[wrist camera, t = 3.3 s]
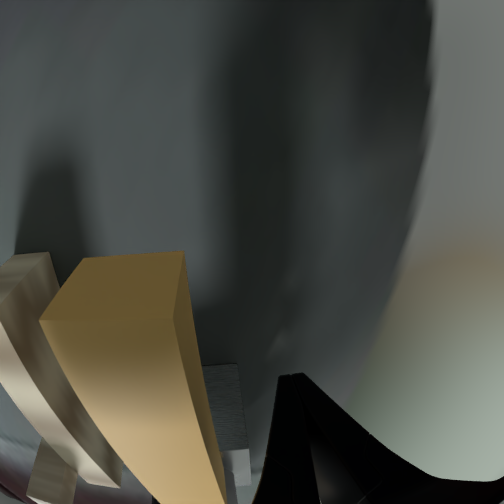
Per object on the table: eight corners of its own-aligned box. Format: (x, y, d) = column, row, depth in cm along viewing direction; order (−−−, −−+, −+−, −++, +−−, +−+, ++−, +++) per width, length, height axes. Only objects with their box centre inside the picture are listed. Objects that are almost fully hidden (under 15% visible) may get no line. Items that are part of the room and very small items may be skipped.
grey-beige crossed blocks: (127, 432, 22) (116, 528, 13) (72, 426, 21) (52, 512, 12) (49, 251, 14) (-50, 371, 5) (-16, 257, 14) (-104, 350, 5)
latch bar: (236, 485, 15) (241, 523, 12) (174, 487, 14) (175, 525, 12) (202, 249, 8) (199, 316, 5) (69, 259, 8) (22, 319, 5)
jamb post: (240, 413, 22) (251, 484, 16) (167, 416, 21) (163, 487, 15) (236, 363, 19) (249, 449, 13) (149, 367, 19) (137, 451, 13)
